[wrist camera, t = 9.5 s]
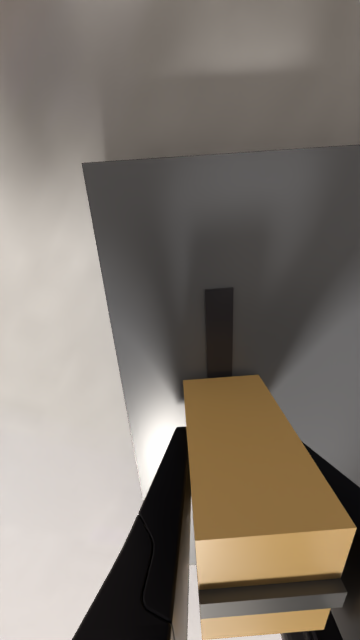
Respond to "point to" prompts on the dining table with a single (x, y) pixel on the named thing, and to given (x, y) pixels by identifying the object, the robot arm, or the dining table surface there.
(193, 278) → the console
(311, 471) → the block
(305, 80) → the dining table surface
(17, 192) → the dining table surface
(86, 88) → the dining table surface
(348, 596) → the robot arm
